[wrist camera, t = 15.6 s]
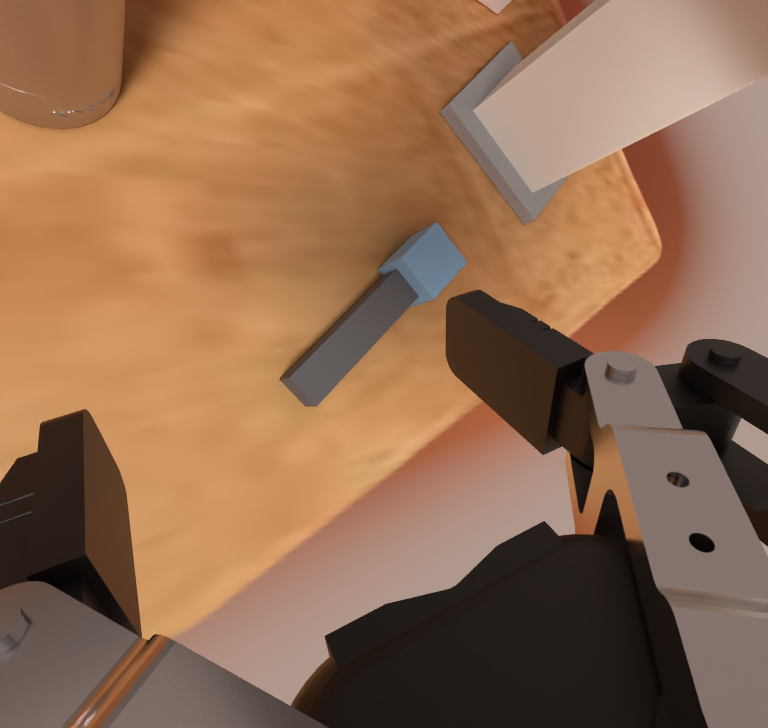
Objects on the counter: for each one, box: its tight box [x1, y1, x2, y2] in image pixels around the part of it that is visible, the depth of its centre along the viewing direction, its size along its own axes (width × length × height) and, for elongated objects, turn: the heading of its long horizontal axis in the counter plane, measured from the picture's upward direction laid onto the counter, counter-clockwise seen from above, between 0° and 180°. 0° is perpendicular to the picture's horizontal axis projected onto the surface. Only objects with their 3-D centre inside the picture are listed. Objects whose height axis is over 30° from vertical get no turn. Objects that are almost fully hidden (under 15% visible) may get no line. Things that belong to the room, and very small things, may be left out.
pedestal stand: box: [440, 0, 768, 225], centre depth 38 cm, size 18×14×32 cm
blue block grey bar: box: [280, 222, 467, 407], centre depth 41 cm, size 18×4×4 cm, turn 135°
